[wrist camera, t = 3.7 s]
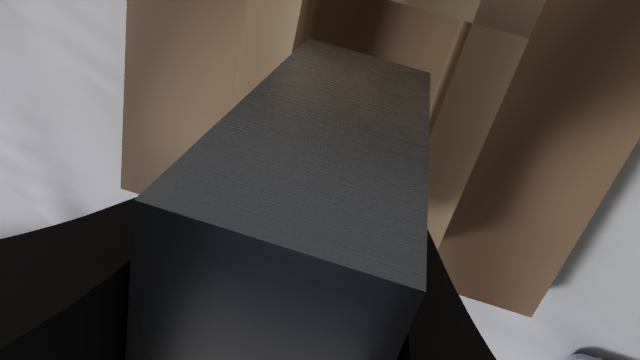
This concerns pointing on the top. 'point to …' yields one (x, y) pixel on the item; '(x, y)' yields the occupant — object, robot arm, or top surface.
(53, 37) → the top surface
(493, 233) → the wooden stepped base
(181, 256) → the grey rectangular block
